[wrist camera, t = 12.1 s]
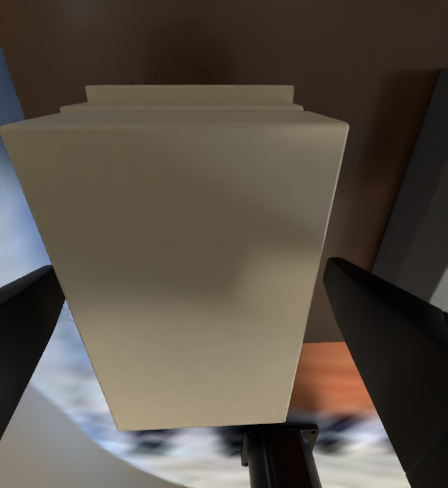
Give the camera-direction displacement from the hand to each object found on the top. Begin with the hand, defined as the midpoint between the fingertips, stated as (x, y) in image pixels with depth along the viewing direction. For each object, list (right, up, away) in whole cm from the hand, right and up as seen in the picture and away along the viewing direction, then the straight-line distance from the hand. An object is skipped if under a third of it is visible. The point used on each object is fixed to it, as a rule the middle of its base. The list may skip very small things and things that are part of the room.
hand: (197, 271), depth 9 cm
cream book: (0, 0, 0) cm, 0 cm away
